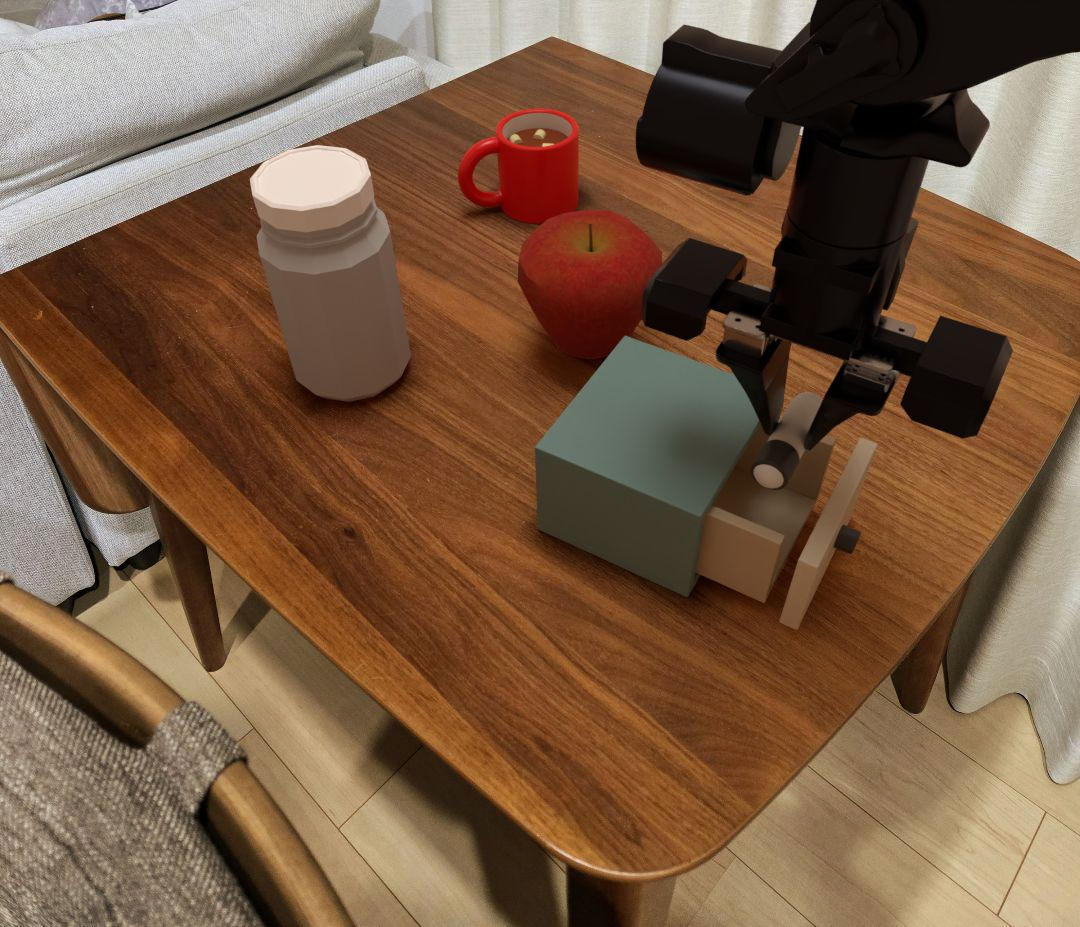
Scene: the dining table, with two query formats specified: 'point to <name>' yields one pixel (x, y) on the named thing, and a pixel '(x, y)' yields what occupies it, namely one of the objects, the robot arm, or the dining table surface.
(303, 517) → the dining table surface
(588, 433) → the cabinet
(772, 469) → the marker
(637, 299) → the apple
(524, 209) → the mug
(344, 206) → the jar
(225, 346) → the dining table surface
